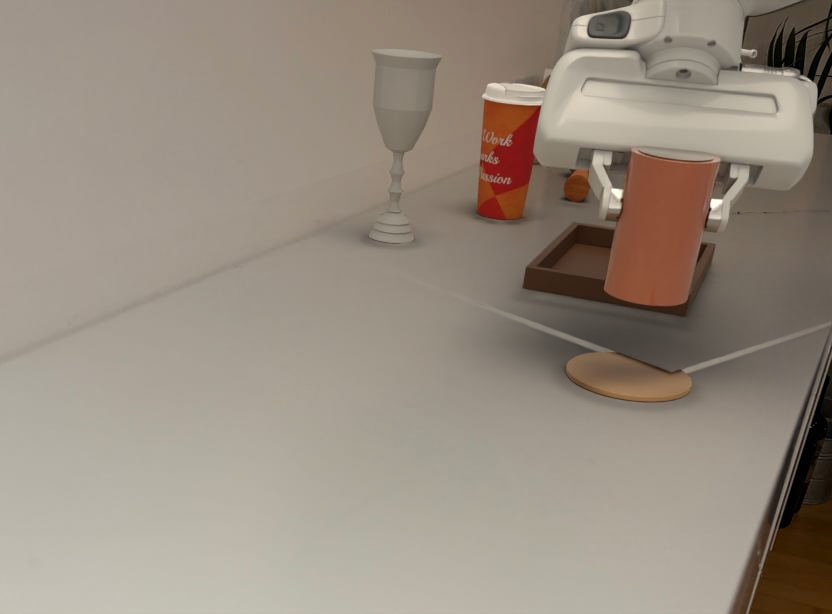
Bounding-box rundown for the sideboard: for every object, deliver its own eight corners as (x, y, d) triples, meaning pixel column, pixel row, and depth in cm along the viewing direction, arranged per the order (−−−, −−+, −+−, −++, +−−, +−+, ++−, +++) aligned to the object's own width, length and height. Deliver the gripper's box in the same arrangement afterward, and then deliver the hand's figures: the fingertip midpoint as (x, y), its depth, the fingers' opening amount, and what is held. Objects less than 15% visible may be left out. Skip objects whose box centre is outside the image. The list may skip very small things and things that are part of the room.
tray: (684, 322, 101) (690, 294, 99) (521, 293, 105) (525, 266, 103) (710, 268, 118) (716, 243, 116) (569, 245, 122) (573, 221, 120)
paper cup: (457, 206, 134) (472, 81, 126) (512, 205, 137) (530, 82, 129) (485, 222, 128) (502, 91, 120) (542, 221, 131) (562, 92, 123)
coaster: (715, 385, 87) (716, 380, 87) (641, 411, 81) (642, 406, 81) (615, 348, 93) (616, 344, 93) (540, 370, 87) (540, 365, 87)
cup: (703, 298, 83) (739, 158, 78) (654, 311, 80) (688, 164, 74) (636, 276, 87) (665, 141, 82) (586, 288, 84) (613, 147, 78)
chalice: (352, 239, 118) (364, 53, 108) (366, 226, 123) (379, 47, 113) (418, 248, 116) (436, 60, 106) (429, 234, 122) (447, 54, 112)
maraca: (552, 165, 139) (567, 129, 155) (553, 213, 143) (568, 173, 158) (600, 162, 138) (610, 125, 153) (600, 210, 141) (610, 170, 156)
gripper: (804, 100, 85) (790, 260, 82) (543, 75, 86) (521, 231, 84) (835, 41, 79) (820, 212, 76) (552, 16, 80) (529, 182, 78)
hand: (661, 222), depth 80 cm, fingers closed on cup, 6 cm apart
